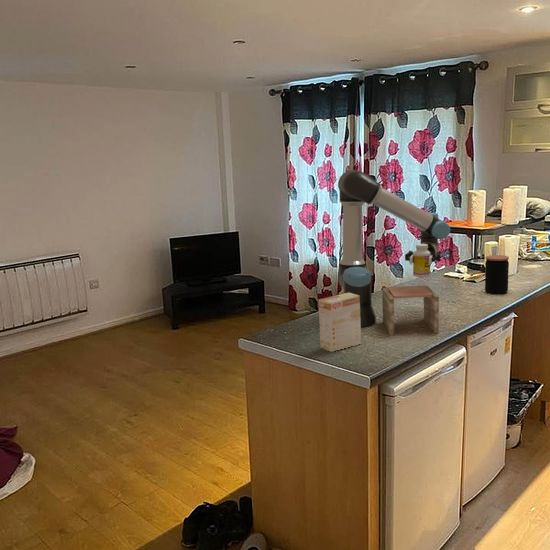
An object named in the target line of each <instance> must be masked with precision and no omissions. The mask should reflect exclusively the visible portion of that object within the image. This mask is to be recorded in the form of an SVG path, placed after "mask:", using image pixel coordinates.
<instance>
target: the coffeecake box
mask: <svg viewBox="0 0 550 550" xmlns="http://www.w3.org/2000/svg"><path fill="white" fill-rule="evenodd" d="M318 319H319V337H320V340H319V341H320V343H319V344H320V348H321V347H323V348H325V349H327V350H329V351H335V350H339V351H341V350H340V349H343V350H345V349H344V348H346V349H348V347H350V348H352V347H351V346H353V347H355V346H356V347H357V346H360V345H362V327H361V321H360V295H356V294H352V293H345V294H344V293H340V294H338V295H333V296H327V297H324V298H320V299H318ZM359 344H360V345H359Z"/></svg>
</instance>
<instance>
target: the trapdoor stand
mask: <svg viewBox="0 0 550 550" xmlns="http://www.w3.org/2000/svg"><path fill="white" fill-rule="evenodd" d="M423 286H424V287H425V288H426V289H427V290H428V291H429V292H430V293H431V294H432V297H423V321H424V322H425V323H426V325H427V326H428V325H429V326H428V327H429V328H430V330H431V331H432V330H433V331H432V333H434V334H435V333H438V334H439V333H440V332H439V331H440V328H439V327H440V325H439V324H440V322H439V320H440V316H439V315H440V314H439V311H440V309H439V307H440V306H439V305H440V304H439V303H440V302H439V301H440V299H439V295H438V294H436V292H435V291H433V290H432V289H431V288H430V287H429V286H428V285H423ZM381 289H382V291H381V295H382V296H381V297H382V322H383V325H384V326H385V329H386V330H387V331H388V334H389V335H390V336H395V298H393V297H392V295H391V294H390V292H389V291H388V289H387V288H386V287H381Z"/></svg>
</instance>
